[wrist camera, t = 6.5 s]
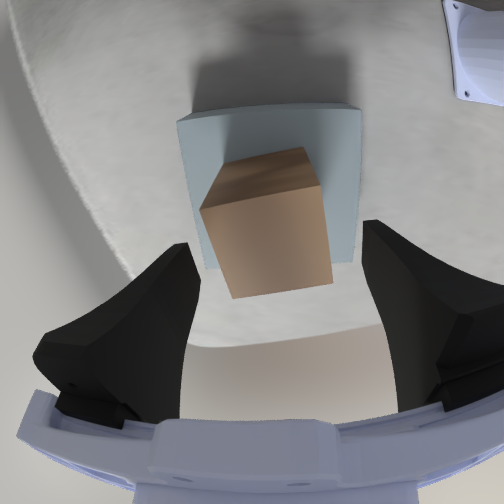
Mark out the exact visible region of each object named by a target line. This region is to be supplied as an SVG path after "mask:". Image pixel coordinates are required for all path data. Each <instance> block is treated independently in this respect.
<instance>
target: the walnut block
mask: <svg viewBox="0 0 504 504" xmlns="http://www.w3.org/2000/svg"><path fill="white" fill-rule="evenodd" d="M199 212H200V215H201V217H202V220H203V223H204V225H205V228H206V231H207V233H208V236H209V239H210V242H211V244H212V247H213V249H214V252H215V255H216V257H217V260H218V263H219V265H220V268H221V270H222V273H223V276H224V278H225V281H226V283H227V286H228V288H229V291H230V293H231V296H232V299H236V298H243V297H250V296H257V295H264V294H271V293H277V292H284V291H290V290H296V289H302V288H308V287H314V286H320V285H326V284H332V283H333V276H332V267H331V258H330V249H329V241H328V233H327V226H326V219H325V212H324V205H323V199H322V192H321V186H320V183H319V181H318V178H317V176H316V174H315V171H314V169H313V167H312V165H311V162H310V160H309V158H308V156H307V153H306V151H305V149H304V147H299V148H293V149H288V150H283V151H278V152H273V153H268V154H263V155H259V156H254V157H250V158H245V159H241V160H237V161H232V162H228V163H224V164H223V165H222V167H221V169H220V171H219V172H218V174H217V176H216V178H215V180H214V182H213V184H212V186H211V187H210V189H209V191H208V193H207V195H206V197H205V199H204V201H203V203H202V205H201V207H200V209H199Z"/></svg>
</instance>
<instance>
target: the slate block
mask: <svg viewBox="0 0 504 504" xmlns="http://www.w3.org/2000/svg"><path fill="white" fill-rule="evenodd" d="M176 125H177V131H178V137H179V142H180V148H181V153H182V159H183V164H184V169H185V175H186V180H187V185H188V190H189V195H190V200H191V205H192V209H193V214H194V219H195V223H196V228H197V233H198V237H199V242H200V246H201V250H202V255H203V259H204V263H205V268H206V269H220V265H219V263H218V260H217V257H216V255H215V252H214V249H213V247H212V244H211V242H210V239H209V236H208V233H207V231H206V228H205V225H204V223H203V220H202V217H201V215H200V212H199V209H200V207H201V205H202V203H203V201H204V199H205V197H206V195H207V193H208V191H209V189H210V187H211V186H212V184H213V182H214V180H215V178H216V176H217V174H218V172H219V171H220V169H221V167H222V165H223V164H224V163H228V162H232V161H237V160H241V159H245V158H250V157H254V156H259V155H263V154H268V153H273V152H278V151H283V150H288V149H293V148H299V147H304V149H305V151H306V153H307V156H308V158H309V160H310V162H311V165H312V167H313V169H314V171H315V174H316V176H317V178H318V181H319V183H320V186H321V192H322V199H323V205H324V212H325V219H326V226H327V233H328V241H329V249H330V258H331V263H344V262H353V253H354V245H355V236H356V226H357V215H358V203H359V188H360V170H361V138H362V110H361V109H358V108H356V107H354V106H351V105H349V104H346V103H289V104H269V105H255V106H244V107H234V108H225V109H217V110H210V111H203V112H196V113H191V114H189V115H187V116H186V117H184V118H182V119H180V120H178V121H177V122H176Z"/></svg>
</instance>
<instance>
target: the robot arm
mask: <svg viewBox="0 0 504 504" xmlns="http://www.w3.org/2000/svg"><path fill="white" fill-rule="evenodd" d="M453 4H454V5H455V7H456V9H455V8H454V6H453ZM443 7H444V12H445V17H446V22H447V27H448V33H449V39H450V46H451V54H452V63H453V74H454V88H455V95H456V97H457V98H458V99H462V100H468V101H475V102H482V103H488V104H494V105H499V106H504V11H490V12H487V11H485V10H482V9H479V8H476V7H473V6H471V5H467V4H464V3H461V2H458V1H455V0H443ZM465 91H466V92H467V95H466V96H465ZM362 266H363V270H364V274H365V277H366V281H367V284H368V287H369V289H370V292H371V294H372V297H373V299H374V302H375V304H376V307H377V309H378V312H379V315H380V317H381V320H382V323H383V325H384V329H385V332H386V336H387V340H388V344H389V349H390V354H391V359H392V364H393V370H394V377H395V384H396V392H397V402H398V413H396V414H391V415H387V416H382V417H377V418H372V419H366V420H361V421H355V422H348V423H342V424H334V425H333V424H331V423H328V422H323V421H319V420H315V419H303V420H302V419H287V420H266V421H216V420H196V419H180V416H179V413H180V412H179V410H180V389H181V379H182V369H183V361H184V354H185V348H186V344H187V340H188V336H189V333H190V329H191V325H192V322H193V318H194V315H195V311H196V307H197V303H198V299H199V292H200V284H201V279H200V276H199V274H198V271H197V268H196V265H195V262H194V260H193V257H192V254H191V251H190V248H189V245H188V242H187V243H179V244H174V245H173V246H171V247H170V248H169V249H168V250H166V251H165V252H164V253H163V254H162V255H161V256H160V257H159V258H157V259H156V260H155V261H154V262H153V263H152V264H151V265H150V266H149V267H148V268H147V269H146V270H145V271H143V272H142V273H141V274H140V275H139V276H138V277H137V278H135V279H134V280H133V281H132V282H131V283H130V284H129V285H127V286H126V287H125V288H124V289H123V290H121V291H120V292H119V293H117V294H116V295H114V296H113V297H112V298H110V299H109V300H108V301H106V302H105V303H103V304H101V305H100V306H98V307H97V308H95V309H94V310H92V311H91V312H89V313H87V314H85V315H84V316H82V317H80V318H78V319H76V320H74V321H72V322H70V323H68V324H66V325H64V326H62V327H59V328H57V329H55V330H52V331H50V332H48V333H45V334H44V336H43V337H42V339H41V341H40V343H39V344H38V346H37V348H36V350H35V351H34V353H33V360H34V364H35V365H36V367H37V368H38V370H39V371H40V372H41V373H42V374H43V375H44V376H45V377H46V378H47V379H48V380H49V381H50V382H51V383H52V384H53V385H54V386H55V387H56V388H57V389H59V390H60V391H61V392H60V395H59V397H57V396H55V395H53V394H51V393H47V392H44V391H41V390H38V389H36V390H35V392H34V394H33V396H32V398H31V400H30V403H29V405H28V407H27V410H26V412H25V415H24V417H23V419H22V422H21V424H20V427H19V430H18V432H17V438H18V439H20V440H21V441H23V442H24V443H26V444H27V445H29V446H30V447H32V448H34V449H35V450H37V451H38V452H40V453H42V454H43V455H45V456H47V457H48V458H50V459H52V460H54V461H56V462H58V463H60V464H62V465H64V466H66V467H69V468H71V469H73V470H75V471H78V472H80V473H83V474H85V475H88V476H90V477H92V478H95V479H98V480H100V481H103V482H106V483H109V484H111V485H114V486H118V487H120V488H123V489H127V490H130V491H133V492H135V494H134V499H133V504H419V500H418V491H417V489H418V488H421V487H424V486H427V485H430V484H433V483H436V482H438V481H441V480H443V479H446V478H448V477H451V476H453V475H456V474H458V473H460V472H462V471H465V470H467V469H469V468H471V467H473V466H475V465H477V464H480V463H482V462H483V461H485V460H487V459H489V458H491V457H493V456H495V455H497V454H499V453H500V452H502V451H504V285H501V284H497V283H493V282H490V281H487V280H484V279H481V278H478V277H476V276H473V275H471V274H468V273H466V272H464V271H461V270H459V269H457V268H454V267H452V266H450V265H448V264H446V263H445V262H443V261H441V260H439V259H437V258H435V257H433V256H432V255H430V254H428V253H427V252H425V251H424V250H422V249H420V248H419V247H417V246H416V245H414V244H413V243H411V242H410V241H408V240H407V239H405V238H404V237H402V236H401V235H400V234H398V233H397V232H395V231H394V230H392V229H391V228H390V227H388V226H387V225H385V224H384V223H382V222H381V221H379V220H367V221H363V241H362Z"/></svg>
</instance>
